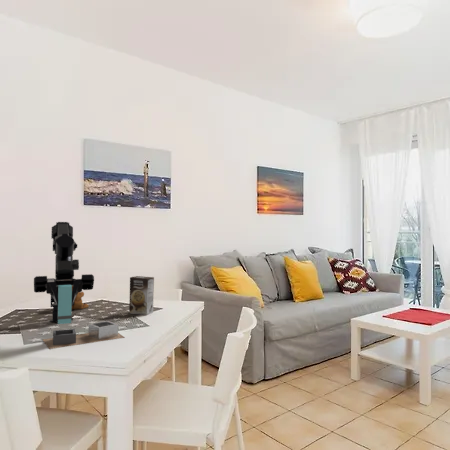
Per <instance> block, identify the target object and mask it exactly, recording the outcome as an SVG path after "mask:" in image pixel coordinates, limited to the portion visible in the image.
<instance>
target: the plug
mask: <svg viewBox="0 0 450 450" xmlns="http://www.w3.org/2000/svg"><path fill="white" fill-rule="evenodd" d="M72 311H73V310H72V285H58V322H57V325H62V324H63V325H65V324H72V320H71V319H72V318H73V315H72Z"/></svg>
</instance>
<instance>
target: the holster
mask: <svg viewBox="0 0 450 450" xmlns="http://www.w3.org/2000/svg"><path fill="white" fill-rule="evenodd" d="M76 335H77V333H76V328H68V329H67V328H66V329H57V330H52V338H53V345H62V344H72V343H76Z"/></svg>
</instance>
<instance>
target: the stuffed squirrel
mask: <svg viewBox="0 0 450 450" xmlns="http://www.w3.org/2000/svg"><path fill="white" fill-rule="evenodd" d="M72 290H73V286H72ZM84 295H85V293H84V291H81V292H79V293H78V294H77V296H76V297H75V302H74V305H73V306H72V310H71V311H75V310H84V308H85V309H88V308H89V306H90V304H88V303H83V299H82V298H83V297H84Z"/></svg>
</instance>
